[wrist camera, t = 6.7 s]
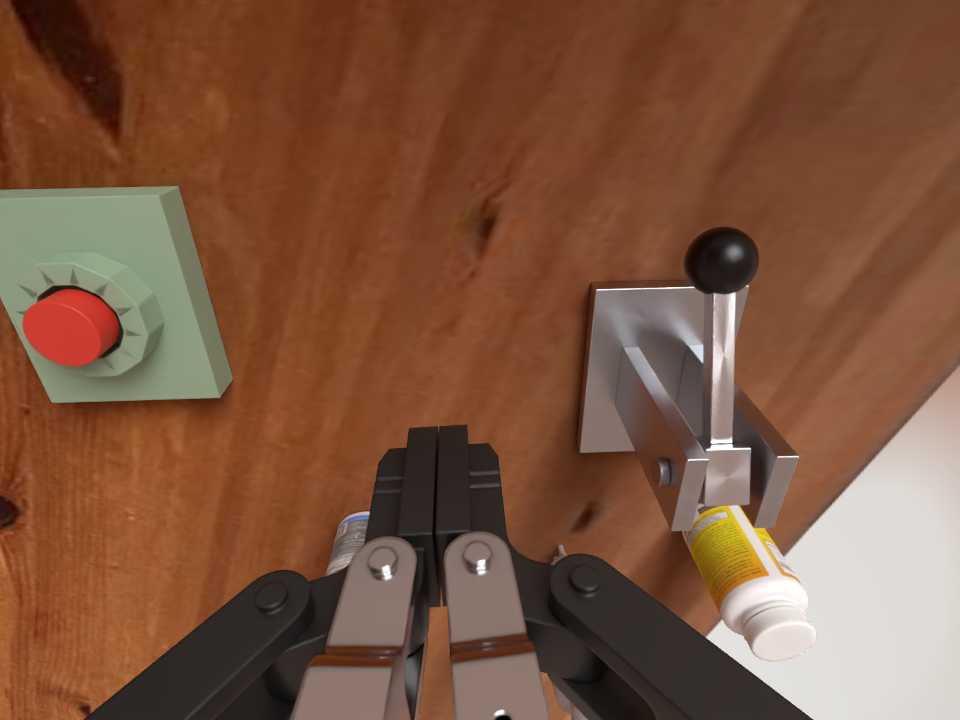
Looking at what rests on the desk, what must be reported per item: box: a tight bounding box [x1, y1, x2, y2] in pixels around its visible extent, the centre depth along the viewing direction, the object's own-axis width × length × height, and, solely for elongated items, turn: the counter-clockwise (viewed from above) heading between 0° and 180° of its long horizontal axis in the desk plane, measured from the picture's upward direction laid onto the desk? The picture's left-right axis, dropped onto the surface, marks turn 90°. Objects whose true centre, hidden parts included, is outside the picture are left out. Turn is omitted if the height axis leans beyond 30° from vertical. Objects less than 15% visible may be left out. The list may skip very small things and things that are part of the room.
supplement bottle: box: [682, 503, 816, 661], centre depth 37 cm, size 6×6×10 cm
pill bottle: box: [325, 511, 370, 576], centre depth 37 cm, size 5×5×8 cm
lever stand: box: [577, 280, 799, 531], centre depth 30 cm, size 12×9×12 cm
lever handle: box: [684, 227, 759, 506], centre depth 26 cm, size 13×3×3 cm, turn 1°
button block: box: [0, 186, 233, 403], centre depth 29 cm, size 12×10×4 cm
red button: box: [22, 289, 119, 366], centre depth 27 cm, size 4×4×2 cm
